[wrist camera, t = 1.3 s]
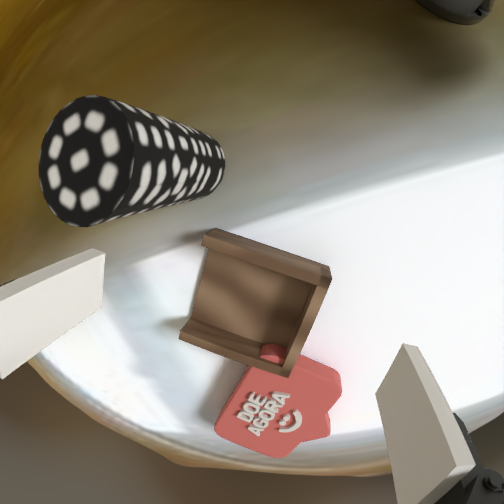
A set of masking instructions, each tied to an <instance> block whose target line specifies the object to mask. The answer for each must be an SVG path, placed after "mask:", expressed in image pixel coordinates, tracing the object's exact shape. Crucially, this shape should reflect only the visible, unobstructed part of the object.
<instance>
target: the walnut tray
mask: <svg viewBox="0 0 504 504" xmlns="http://www.w3.org/2000/svg"><path fill="white" fill-rule="evenodd" d="M201 246H204V247H207V248H209V250H208V254H207V258H206V262H205V265H204V269H203V273H202V277H201V281H200V285H199V289H198V292H197V296H196V300H195V304H194V308H193V312H192V317H191V318H190V320H189V321H188V322H187V323H186V325H185V326H184V327H183V328H182V329H181V331H180V335H179V339H180V340H183V341H185V342H188V343H190V344H193V345H195V346H198V347H200V348H203V349H205V350H208V351H211V352H213V353H216V354H219V355H221V356H224V357H227V358H229V359H232V360H235V361H238V362H241V363H243V364H246V365H249V366H252V367H255V368H258V369H261V370H264V371H267V372H270V373H273V374H277V375H280V376H283V377H286V378H289V376H290V373H291V371H292V369H293V367H294V365H295V363H296V361H297V359H298V357H299V354H300V352H301V350H302V348H303V346H304V343H305V341H306V339H307V337H308V335H309V332H310V330H311V328H312V326H313V323H314V321H315V319H316V316H317V314H318V312H319V309H320V307H321V305H322V302H323V300H324V297H325V295H326V293H327V290H328V288H329V285H330V283H331V280H332V276H331V272H330V268H329V266H326V265H323V264H321V263H318V262H315V261H312V260H309V259H306V258H303V257H300V256H297V255H294V254H291V253H289V252H286V251H283V250H280V249H277V248H274V247H271V246H268V245H265V244H262V243H259V242H256V241H253V240H250V239H247V238H244V237H241V236H239V235H236V234H233V233H230V232H227V231H224V230H221V229H218V228H215V229H213V230H211V231H210V232H208V233H206V234H204V236H203V240H202V244H201ZM265 344H277V345H280V346H282V347H285V348H286V354H285V360H284V363H283V365H282V364H278V363H275V362H272V361H269V360H266V359H263V358H261V357H260V353H261V349H262V346H263V345H265Z"/></svg>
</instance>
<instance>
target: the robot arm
mask: <svg viewBox="0 0 504 504" xmlns="http://www.w3.org/2000/svg"><path fill="white" fill-rule="evenodd" d="M416 1H417V2H418V3H420V4H421V5H422V6H424V7H425V8H427V9H428V10H430V11H431V12H433V13H434V14H436V15H438V16H440V17H442V18H444V19H446V20H449V21H452V22H455V23H459V24H464V25H472V24H477V23H479V22H481V21H482V20H483V19H484V18H485V17H487V16H488V15H489V13H490V12H491V10H492V7H493V4H494V0H416ZM104 263H105V253H104V252H101V251H99V250H96V249H93V248H92V249H89V250H87V251H84V252H82V253H79V254H76V255H74V256H71V257H69V258H66V259H64V260H61V261H59V262H57V263H54V264H52V265H49V266H47V267H44V268H42V269H40V270H37V271H35V272H33V273H30V274H28V275H26V276H23V277H21V278H19V279H15V280H12V281H9V282H7V283H5V284H3V286H2V285H0V378H2V379H3V378H4V377H6V376H7V375H9V374H10V373H11V372H13V371H14V370H15V369H16V368H18V367H19V366H21V365H22V364H23V363H25V362H26V361H27V360H29V359H30V358H31V357H33V356H34V355H36V354H37V353H38V352H40V351H41V350H42V349H44V348H45V347H47V346H48V345H49V344H51V343H52V342H54V341H55V340H56V339H58V338H59V337H60V336H62V335H63V334H65V333H66V332H68V331H69V330H70V329H72V328H73V327H75V326H76V325H77V324H79V323H80V322H82V321H83V320H85V319H86V318H87V317H89V316H90V315H92V314H93V313H95V312H96V311H98V310H99V309H101V308H102V292H103V276H104ZM375 395H376V399H377V403H378V407H379V411H380V415H381V420H382V424H383V428H384V433H385V438H386V442H387V447H388V452H389V457H390V462H391V467H392V472H393V478H394V484H395V489H396V495H397V501H398V504H504V479H503V477H502V476H501V475H500V474H499V473H498V472H496V471H494V470H491V469H484V466H483V464H482V462H481V459H480V457H479V455H478V453H477V451H476V448H475V446H474V444H473V442H471V437H470V435H469V434H468V431H467V429H466V427H465V425H464V423H463V421H462V420H461V419H460V418H459V417H458V416H457V415H456V414H455V413H452V411H451V409H450V407H449V405H448V403H447V401H446V399H445V397H444V395H443V393H442V391H441V389H440V387H439V385H438V383H437V381H436V379H435V378H434V376H433V374H432V372H431V370H430V368H429V366H428V365H427V363H426V361H425V359H424V357H423V356H422V354H421V352H420V350H419V348H418V347H416V346H412V345H408V344H402V346H401V348H400V350H399V352H398V354H397V356H396V358H395V360H394V361H393V363H392V365H391V367H390V369H389V371H388V373H387V374H386V376H385V378H384V380H383V381H382V383H381V385H380V387H379V388H378V390H377V392H376V394H375Z"/></svg>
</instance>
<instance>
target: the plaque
mask: <svg viewBox="0 0 504 504" xmlns="http://www.w3.org/2000/svg"><path fill="white" fill-rule="evenodd" d="M285 354H286V348H285V347H282V346H280V345H277V344H265V345H263V346H262V349H261V353H260V357H261V358H263V359H266V360H269V361H272V362H275V363H278V364H282V365H283V363H284V360H285ZM341 393H342V387H341V379H340V375H339V373H338V372H337V371H336V370H334V369H332V368H330V367H328V366H325V365H323V364H321V363H318V362H316V361H314V360H311V359H309V358H307V357H305V356H302V355H300V354H299V357H298V359H297V361H296V363H295V365H294V367H293V369H292V371H291V373H290V376H289V378H286V377H283V376H280V375H277V374H273V373H270V372H267V371H264V370H261V369H258V368H255V367H252V366H248V367H247V369H246V371H245V372H244V374H243V376H242V377H241V379H240V381H239V382H238V384H237V386H236V387H235V389H234V391H233V392H232V394H231V396H230V397H229V399H228V401H227V402H226V404H225V406H224V407H223V409H222V410H221V412H220V414H219V416H218V418H217V421H216V423H215V426H214V430H215V432H216V433H217V434H218V435H219V436H220V437H222V438H224V439H227V440H229V441H231V442H234V443H236V444H239V445H241V446H243V447H246V448H248V449H251V450H254V451H256V452H259V453H262V454H264V455H267V456H270V457H274V458H282V457H285V456H287V455H288V454H289V453H290V452H291V451H292V450H293V449H294V448H295V447H296V446H297V445H298V444H299V443H300V442H304V441H310V440H314V439H319V438H324V437H327V436H329V435H330V418H329V415H328V411H329V410H330V409H331V407H332V406H333V405H334V404H335V403H336V401H337V400H338V399H339V398H340V396H341Z"/></svg>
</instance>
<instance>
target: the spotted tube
mask: <svg viewBox="0 0 504 504" xmlns="http://www.w3.org/2000/svg"><path fill="white" fill-rule="evenodd" d="M224 171H225V157H224V153H223V151H222V148H221V146H220V145H219V144H218V142H217V141H216V140H215V139H214V138H213V137H211V136H210V135H208V134H206V133H204V132H201V131H199V130H196V129H194V128H191V127H188V126H186V125H183V124H181V123H178V122H175V121H173V120H170V119H167V118H165V117H162V116H159V115H156V114H154V113H151V112H148V111H145V110H142V109H140V108H137V107H134V106H131V105H128V104H125V103H122V102H119V101H116V100H112V99H109V98H106V97H102V96H98V95H88V96H83V97H80V98H77V99H75V100H74V101H72V102H70V103H68V104H67V105H66V106H65V107H64V108H63V109H61V110H60V111H59V113H58V114H57V115H56V116H55V118H54V119H53V120H52V122H51V124H50V125H49V127H48V129H47V131H46V134H45V136H44V139H43V142H42V146H41V150H40V156H39V179H40V185H41V189H42V192H43V195H44V198H45V200H46V202H47V204H48V206H49V207H50V209H51V210H52V211H53V213H54V214H55V215H56V216H57V217H58V218H60V219H61V220H62V221H64V222H65V223H67V224H69V225H72V226H76V227H89V226H93V225H96V224H100V223H104V222H107V221H111V220H115V219H118V218H122V217H126V216H130V215H134V214H138V213H142V212H146V211H150V210H154V209H158V208H162V207H166V206H170V205H174V204H179V203H183V202H187V201H192V200H196V199H200V198H203V197H205V196H207V195H209V194H210V193H212V192H213V191H214V190H215V189H216V188H217V187H218V185H219V184H220V182H221V180H222V178H223V175H224Z"/></svg>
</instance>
